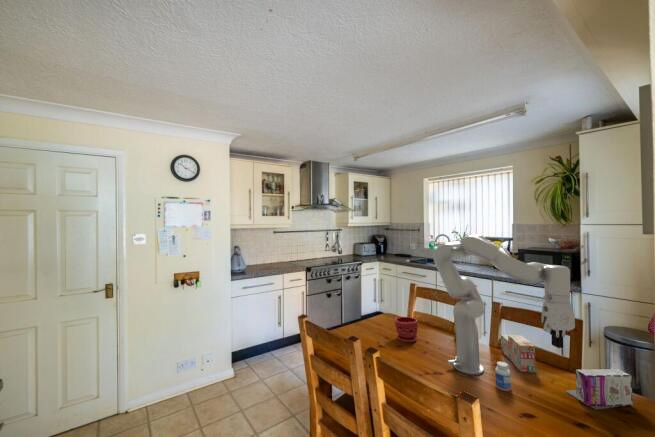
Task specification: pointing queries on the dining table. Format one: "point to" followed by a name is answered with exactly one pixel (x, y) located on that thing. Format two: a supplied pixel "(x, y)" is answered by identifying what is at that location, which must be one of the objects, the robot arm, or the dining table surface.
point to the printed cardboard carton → (519, 352)
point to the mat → (574, 394)
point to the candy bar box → (604, 387)
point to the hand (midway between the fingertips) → (557, 346)
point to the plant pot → (406, 329)
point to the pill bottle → (503, 376)
